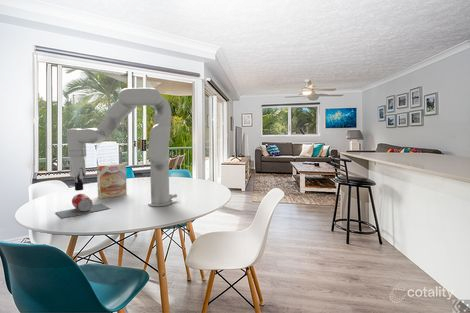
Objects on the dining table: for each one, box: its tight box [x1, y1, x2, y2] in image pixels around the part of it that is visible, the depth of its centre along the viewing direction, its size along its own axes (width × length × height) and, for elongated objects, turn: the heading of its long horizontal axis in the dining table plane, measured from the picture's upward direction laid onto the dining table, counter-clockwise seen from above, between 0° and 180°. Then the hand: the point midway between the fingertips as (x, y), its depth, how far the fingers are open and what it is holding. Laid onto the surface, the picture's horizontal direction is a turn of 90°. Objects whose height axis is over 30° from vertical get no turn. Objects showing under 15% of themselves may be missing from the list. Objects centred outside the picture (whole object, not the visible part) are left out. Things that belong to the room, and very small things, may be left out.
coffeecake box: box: [96, 163, 127, 199], centre depth 145 cm, size 15×7×20 cm, turn 132°
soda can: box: [71, 193, 93, 212], centre depth 114 cm, size 7×7×12 cm
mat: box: [55, 203, 111, 219], centre depth 114 cm, size 20×12×1 cm, turn 138°
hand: (79, 190), depth 117 cm, fingers closed
